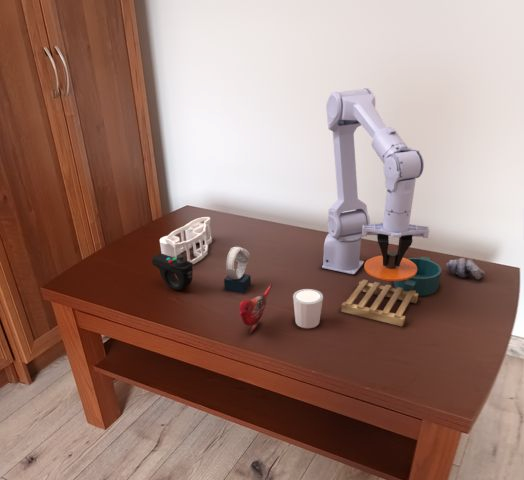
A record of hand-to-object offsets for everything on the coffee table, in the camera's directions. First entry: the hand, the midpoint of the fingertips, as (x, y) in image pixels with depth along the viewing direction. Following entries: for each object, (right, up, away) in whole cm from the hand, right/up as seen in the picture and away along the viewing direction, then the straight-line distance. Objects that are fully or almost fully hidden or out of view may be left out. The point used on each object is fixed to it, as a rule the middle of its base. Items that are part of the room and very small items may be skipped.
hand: (390, 264), depth 124 cm
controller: (-53, -4, +15) cm, 55 cm away
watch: (-37, -4, +14) cm, 39 cm away
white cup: (-20, -14, 0) cm, 24 cm away
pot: (+10, -3, +13) cm, 16 cm away
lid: (0, -1, +1) cm, 1 cm away
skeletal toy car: (-51, +8, +32) cm, 61 cm away
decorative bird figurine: (-31, -14, 0) cm, 34 cm away
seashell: (+23, -1, +16) cm, 28 cm away
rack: (-2, -9, +5) cm, 11 cm away
